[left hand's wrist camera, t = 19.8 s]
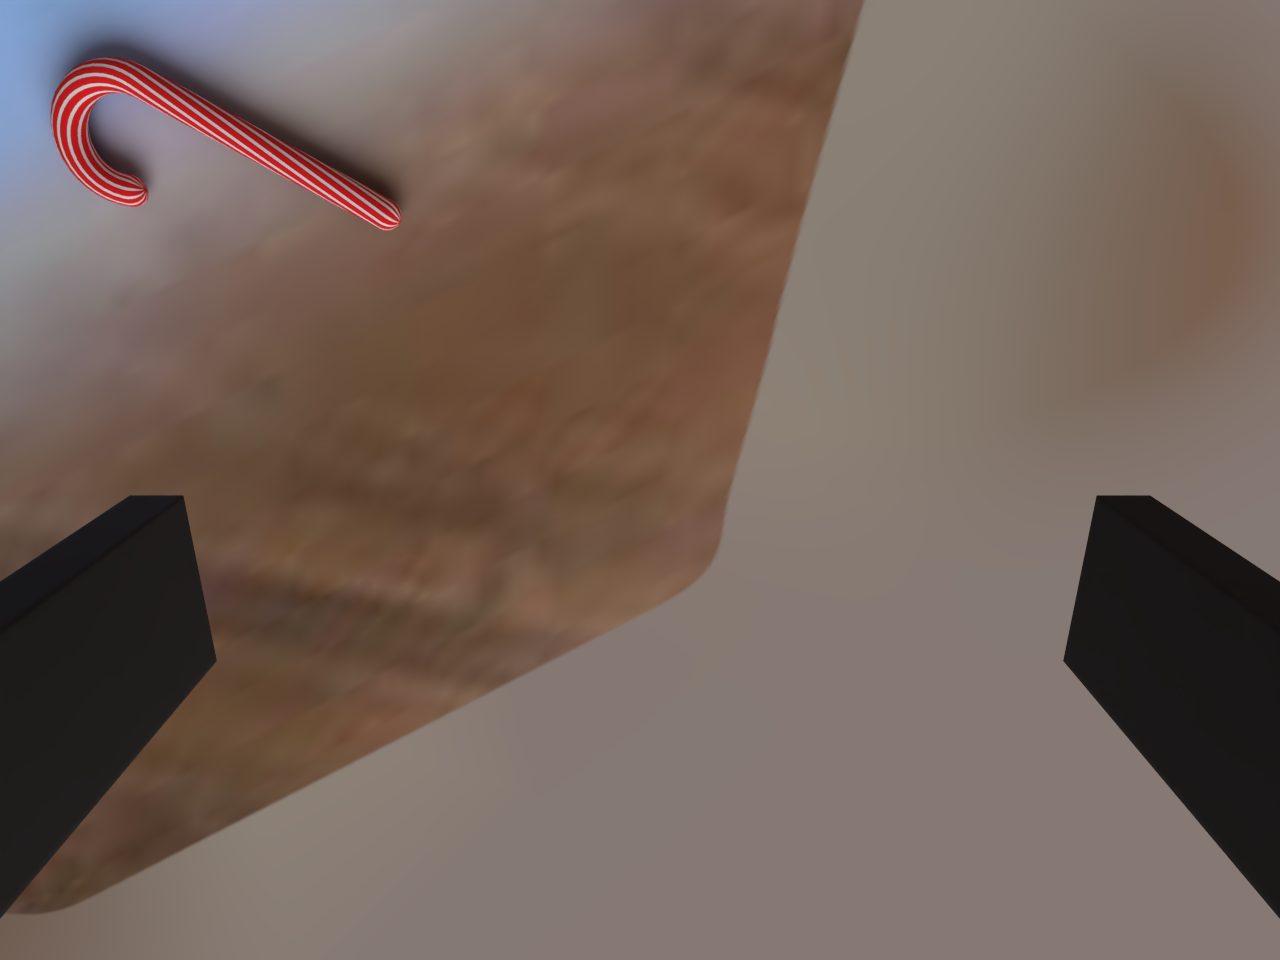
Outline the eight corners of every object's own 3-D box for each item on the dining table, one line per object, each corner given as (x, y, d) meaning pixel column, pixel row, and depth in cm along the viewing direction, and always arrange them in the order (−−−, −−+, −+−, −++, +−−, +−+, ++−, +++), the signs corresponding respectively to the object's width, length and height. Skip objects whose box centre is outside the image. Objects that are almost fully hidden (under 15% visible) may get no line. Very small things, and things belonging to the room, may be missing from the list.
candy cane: (362, 321, 41) (353, 327, 40) (48, 164, 38) (26, 164, 37) (411, 204, 39) (403, 206, 38) (84, 30, 36) (62, 26, 35)
